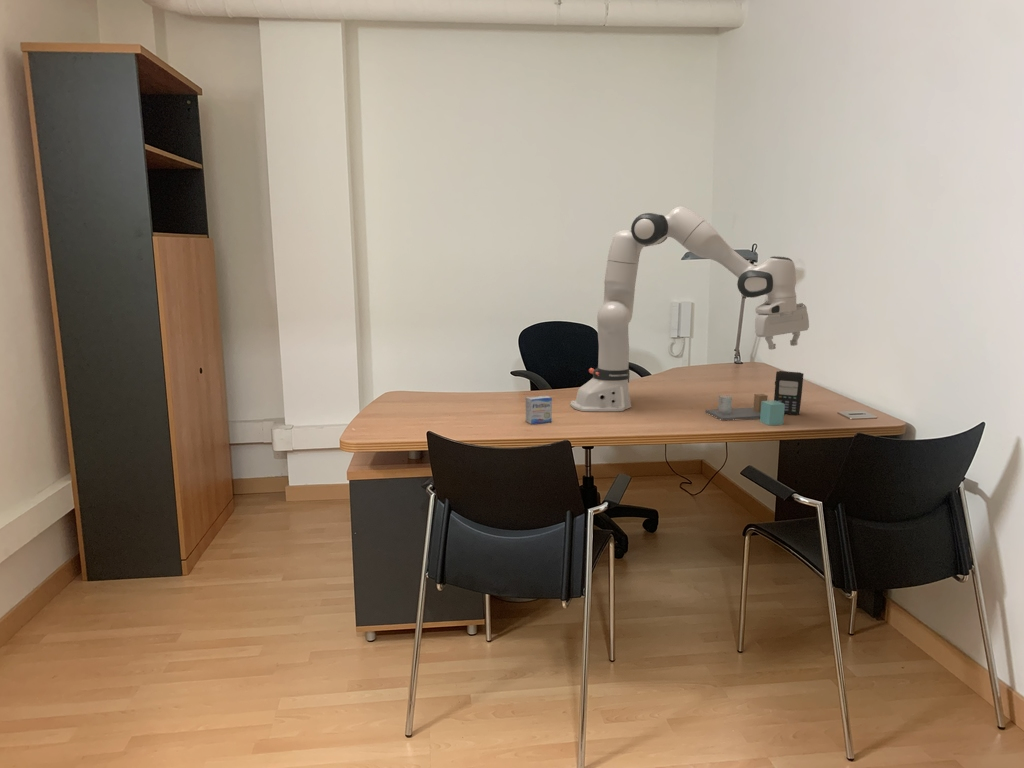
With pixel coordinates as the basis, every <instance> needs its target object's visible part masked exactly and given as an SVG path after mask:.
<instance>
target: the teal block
mask: <svg viewBox="0 0 1024 768" xmlns="http://www.w3.org/2000/svg"><path fill="white" fill-rule="evenodd" d="M784 409H785V404H784V403H781V402H778V401H776V400H775V401H774V400H767V401H761V413H760V419H759V422H760V423H762V422H763V423H762V424H764V425H767V426H782V425H783V426H784V419H785V414H784Z"/></svg>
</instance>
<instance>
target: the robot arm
mask: <svg viewBox="0 0 1024 768" xmlns="http://www.w3.org/2000/svg"><path fill="white" fill-rule="evenodd" d="M668 238H672V239H674V240H675V241H676V242H678V243H679V244H680V245H681V246H682V247H684V248H685V249H686V250H687V251H689V253H692V254H693V255H696V257H699V258H702V259H708V260H711V261H715V262H717V263H719V264H720V265H721V266H723V267H724V268H726V269H727V270H728V272H729V271H730V273H732V274H733V275H734V276H735V277H737V284H736V285H737V290H738V291H739V292H740V293H741V295H742V296H744V297H746V298H752V299H754V298H758V297H761V296H764V295H766V296H767V301H765V302H763V303H762V304H760V305H757V306H756V307H755V314H757V315H756V317H755V321H754V329H755V331H754V333H755V335H756V336H757V337H759V338H765V341H766V343H767V345H768V347H767V348H768V350H771V351H772V350H775V349H776V347H777V346H776V343H774V341H773V339H774V336H779V335H780V336H781V335H787V334H792V335H793V336H792V339H790V340H789V342H790V346H793V347H795V346H798V341H799V338H800V336H801V332H804V331H808V330H809V328H810V320H809V313H808V311H807V310H808V309H807V306H806V304H804V303H803V302H800V303H797V293H796V290H795V289H796V284H797V276H796V274H797V273H796V266H795V262H794V261H793V260H792V259H791V258H789V257H786V256H775V255H774V256H770V257H768V259H767V260H765V261H764V262H761V263H760V264H757V265H756V264H753V263H751V262H750V261H748V260H747V259H746V258H745V257H743V256H742V255H740V254H739V252H737V251H736V250H734V249H733V248H732V247H731V246H730V245H729V244H728V243H727V242H726V240H724V238H723V237H722V236H721V235H720V234H719V232H718V231H717V230H716V229H715V228H714V227H713V226H712V225H711V224H710V223H709V222H708V221H707V220H705V219H704V218H703V217H701V216H700V215H699V214H697V213H696V212H694V211H693V210H692V209H689V208H687V207H685V206H682V205H680V206H676V207H674V208H673V209H671V210H670V211H669V212H668V213H667V214H666V215H663V214H659V213H657V212H656V213H655V212H645V213H642V214H640V215H638V216H637V217H636V218H634V220H633V221H632V223H631V227H630V229H623V230H618V231H617V232H616V233H614V234H613V237H612V239H611V243H610V245H609V251H608V256H607V261H606V267H605V268H606V269H605V273H604V275H605V276H604V281H603V284H604V288H603V289H604V292H603V305H602V306H601V307H599V310H598V312H597V316H596V317H597V319H596V321H597V322H596V323H597V325H596V326H597V340H598V359H597V361H598V362H597V363H598V364H597V367H596V368H595V369H594V367H593V368H592V367H590V368H589V369H588V372H589V373H590V374H591V375H592V378H590V380H588V381H587V382H586V383H584V384H583V385H581V386H580V387H579V388H578V389H577V392H576V393H577V394H576V398H575V400H570V404H569V405H570V407H571V408H573V409H575V410H577V411H581V412H624V411H625V410H626V409H629V408H631V407H632V402H631V398H630V390H629V383H630V368H629V361H630V342H629V341H630V340H629V324H630V322H631V321H632V318H633V313H634V312H633V311H634V304H635V303H634V302H635V291H636V282H637V277H638V276H637V275H638V269H639V263H640V256H641V252H642V249H644V248H645V247H650V246H651V247H652V246H657V245H660V244H662V243H664V242H665V241H666V240H667V239H668Z"/></svg>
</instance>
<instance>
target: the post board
mask: <svg viewBox="0 0 1024 768" xmlns="http://www.w3.org/2000/svg"><path fill="white" fill-rule="evenodd" d="M761 401H768V395H767V394H765V393H754V397H753V406H752V407H750V406H749V407H735V408H733V407H731V414H725V415H722V414H720V413H718V408H717V409H716V408H715V409H714V408H713V409H704V410H705V412H706V413H705V414H707V413H708V414H707V415H709V414H710V415H709V416H711V415H713V416H715V417H717V418H719V419H721V420H720V421H722V420H729V421H736V420H735V419H746V420H760V413H761ZM713 416H712V417H713ZM715 417H714V418H715ZM717 418H716V419H717ZM719 419H718V420H719ZM733 419H734V420H733Z"/></svg>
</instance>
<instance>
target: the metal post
mask: <svg viewBox="0 0 1024 768" xmlns="http://www.w3.org/2000/svg"><path fill="white" fill-rule="evenodd" d="M732 400H733V399H732V397H731V396H729V395H719V396H718V400H717V401H718V403H717V409H718V413H720V414H722V415H725V414H731V408H732Z"/></svg>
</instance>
